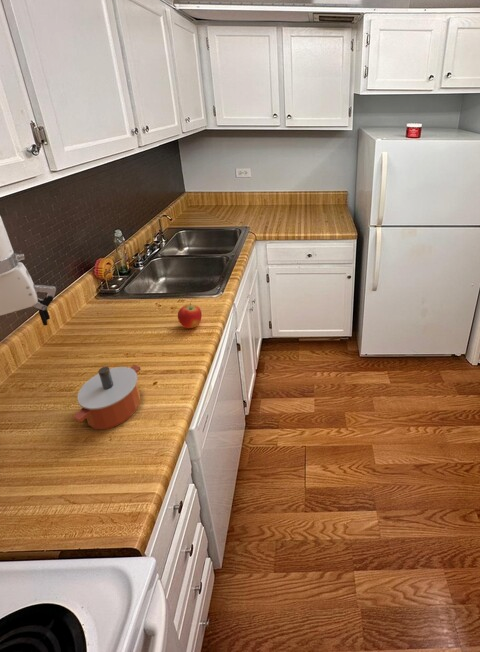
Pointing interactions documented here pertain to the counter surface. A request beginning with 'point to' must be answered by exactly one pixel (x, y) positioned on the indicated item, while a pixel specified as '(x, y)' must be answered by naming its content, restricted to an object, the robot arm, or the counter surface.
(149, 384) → the counter surface
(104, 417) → the saucepan
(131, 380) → the pan lid
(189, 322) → the apple
